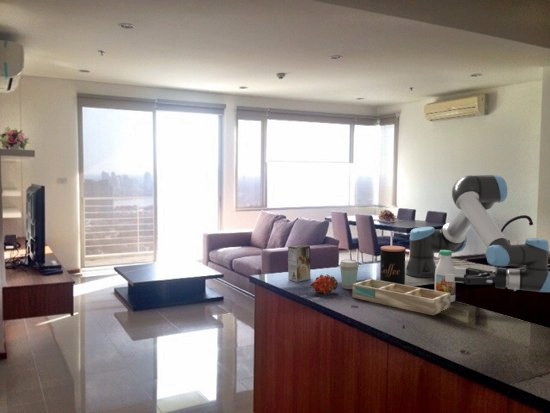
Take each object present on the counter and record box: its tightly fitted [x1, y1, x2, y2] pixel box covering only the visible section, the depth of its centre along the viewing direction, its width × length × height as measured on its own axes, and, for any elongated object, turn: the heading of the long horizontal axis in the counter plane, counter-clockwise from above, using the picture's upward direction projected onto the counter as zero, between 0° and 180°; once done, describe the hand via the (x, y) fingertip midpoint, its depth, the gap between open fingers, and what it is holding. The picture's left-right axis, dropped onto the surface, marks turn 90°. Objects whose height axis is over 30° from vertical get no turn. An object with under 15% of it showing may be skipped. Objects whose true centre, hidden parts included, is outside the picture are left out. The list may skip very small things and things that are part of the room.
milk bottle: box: [434, 250, 456, 303], centre depth 189 cm, size 8×8×20 cm
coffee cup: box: [339, 258, 360, 290], centre depth 211 cm, size 8×9×12 cm
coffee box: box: [287, 244, 311, 282], centre depth 228 cm, size 9×6×16 cm
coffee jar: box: [379, 245, 406, 285], centre depth 210 cm, size 11×11×18 cm
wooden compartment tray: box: [351, 278, 451, 316], centre depth 187 cm, size 14×35×6 cm, turn 45°
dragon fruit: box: [310, 274, 339, 295], centre depth 202 cm, size 8×8×12 cm
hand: (446, 274), depth 188 cm, fingers open, 13 cm apart
